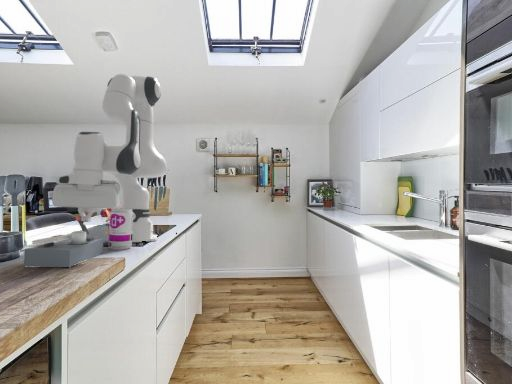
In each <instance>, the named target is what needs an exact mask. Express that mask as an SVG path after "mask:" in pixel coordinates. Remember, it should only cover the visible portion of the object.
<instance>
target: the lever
mask: <svg viewBox="0 0 512 384" xmlns="http://www.w3.org/2000/svg"><path fill="white" fill-rule="evenodd" d="M75 220H76V222H78V224H79V227H80V229H81V231H85V232H86V236H87V235H89V234H90V232H89V231H88V229H87V226H86V224H85V222H82V221H81V215H78V216H76V217H75Z"/></svg>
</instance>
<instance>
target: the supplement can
mask: <svg viewBox="0 0 512 384" xmlns="http://www.w3.org/2000/svg"><path fill="white" fill-rule="evenodd" d="M108 225H109V228H108V229H109V230H108V248H109V249H110V250H115V251H119V250H120V251H121V250H122V251H123V250H129V249H131V248H132V247H133V242H132V232H133V212H132V209H122V208H116V209H111V211H110V212H109V224H108Z"/></svg>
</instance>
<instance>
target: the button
mask: <svg viewBox="0 0 512 384" xmlns="http://www.w3.org/2000/svg"><path fill="white" fill-rule="evenodd" d="M86 237H87V235H86V232H85V231H82V230H76V231H73V232H71V237H70V238H71V244H73V245H81V244H86Z"/></svg>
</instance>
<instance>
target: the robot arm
mask: <svg viewBox="0 0 512 384" xmlns="http://www.w3.org/2000/svg"><path fill="white" fill-rule="evenodd" d="M106 86H107V88H106V91H105V93H104V96H103V99H102V110H103V113H104V114H105V115H106V116H107V117H108V118H109V119H110V120H111V121H113V122H114V123H117V124H119V125H122V126H124V127H126V132H125V143H124V144H123V145H107V144H106V143H105V139H104V134H103V133H102V132H98V131H80V132H77V135H76V138H75V142H74V149H73V159H74V166H73V168H72V173H68V174H65V175H60V176H57V177H56V178H55V182H56V184H57V185H55V186H54V189H53V191H52V198H51V199H52V200H51V202H52V205H53V207H55V208H56V207H57V208H58V207H59V208H77V212H78V214H79V216H81V221H82V222H84V223H89V222H91V220H92V216H93V214H94V213H95V211H96V209H111V210H112V209H119V207H120V205H121V204H120V203H121V201H120V192H122V208H121V209H132V212H133V232H132V243H143V242H142V241H146V242H155V241H157V240H156V239H157V238H158V237H157V236H158V234H154V233H155V230H154V224H153V222H152V220H151V218H150V217H151V209H150V192H149V190H148V189H147V188H146V187H144V186H142V185H141V184H140V183H139V181H138V180H139V178H141V179H155V178H160V177H161V178H162V176H163V177H164V175H165V174H166V171H167V168H168V167H167V166H168V164H167V161H166V159H165V157H164V156H163V155H162V154H160V152H159V151H158V150H157V149H156V146H155V142H154V125H155V124H154V123H155V122H154V120H155V117H154V115H155V114H154V107H155V105H156V103H158V101H159V100H160V98H161V94H162V87H161V84H160V82H159V80H158V79H157V78H156V77H153V76H142V75H130V76H129V75H127V74H124V73H119V74H115V75H114V76H113V77H111V78H110V79H109V81H108V82H107V85H106ZM104 173H107V174H109V173H110V174H111V175H112V176H113V177H114V178H115V179H116V180H117V181H118V182H117V181H116V180H104ZM86 209H87V212H88V213H87V215H86V213H85V211H86Z"/></svg>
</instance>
